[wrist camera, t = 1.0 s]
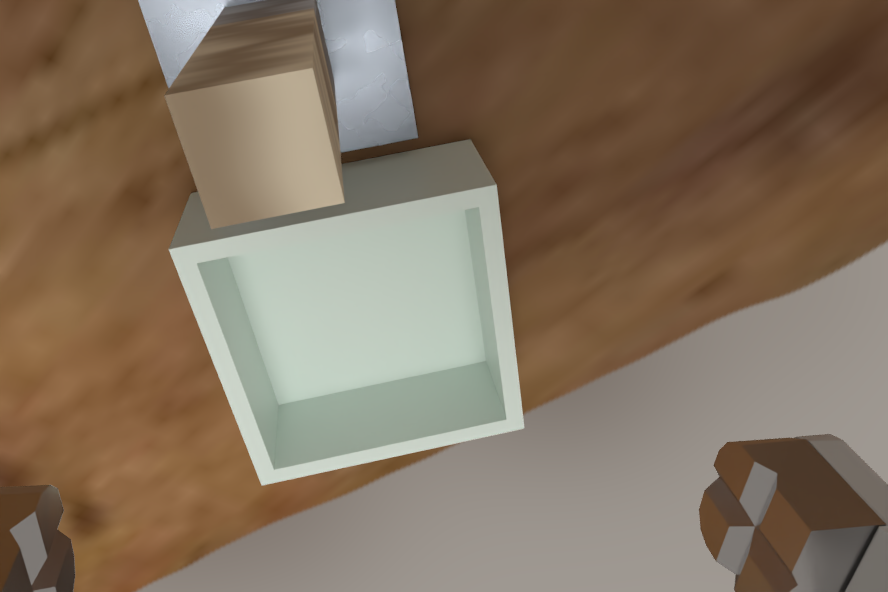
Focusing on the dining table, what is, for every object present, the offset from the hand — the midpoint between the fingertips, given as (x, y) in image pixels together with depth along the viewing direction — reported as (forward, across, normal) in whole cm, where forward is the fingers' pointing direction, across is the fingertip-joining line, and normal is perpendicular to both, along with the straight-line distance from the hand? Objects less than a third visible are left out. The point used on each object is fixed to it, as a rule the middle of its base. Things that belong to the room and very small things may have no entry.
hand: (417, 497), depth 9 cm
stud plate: (+33, +2, 0) cm, 33 cm away
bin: (+33, -2, +15) cm, 36 cm away
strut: (+32, +2, +1) cm, 32 cm away
